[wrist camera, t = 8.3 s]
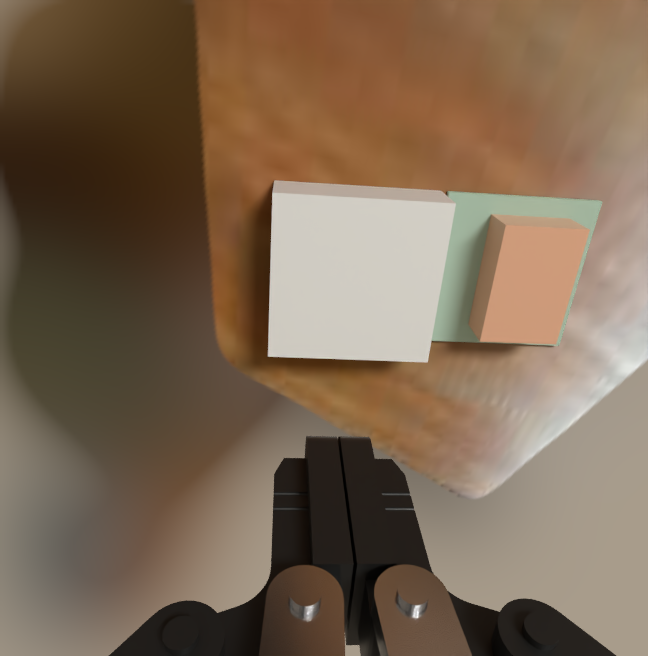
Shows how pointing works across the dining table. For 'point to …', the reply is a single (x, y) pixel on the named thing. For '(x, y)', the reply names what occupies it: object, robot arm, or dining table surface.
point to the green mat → (470, 246)
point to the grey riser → (356, 270)
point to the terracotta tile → (526, 278)
